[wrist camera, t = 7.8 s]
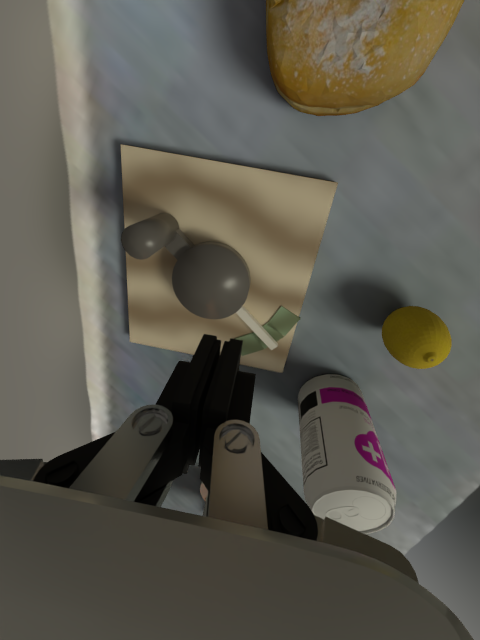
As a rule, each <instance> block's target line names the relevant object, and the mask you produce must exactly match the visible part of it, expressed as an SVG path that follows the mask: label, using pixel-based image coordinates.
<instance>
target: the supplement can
mask: <svg viewBox="0 0 480 640" xmlns="http://www.w3.org/2000/svg"><path fill="white" fill-rule="evenodd" d="M298 409H299V425H300V440H301V455H302V470H303V485H304V495H305V500H306V502H307V504H308V505H309V507H310V509H311V510H312V512H313V514H314V515H315V516H318V517H320V518H322V519H324V518H325V516H326V517H328V518H330V519H333V520H335V521H337V522H339V523H341V524H344V525H346V526H348V527H350V528H352V529H355V530H357V531H359V532H361V533H364V534H369V533H373V532H376V531H380V530H382V529H383V528H385V527H387V526H389V525H390V523H391V522H392V521H393V519H394V514H395V510H394V508H395V503H396V489H395V486H394V483H393V481H392V478H391V475H390V472H389V469H388V466H387V463H386V460H385V458H384V455H383V452H382V449H381V446H380V443H379V440H378V437H377V435H376V432H375V429H374V426H373V423H372V420H371V417H370V414H369V412H368V409H367V406H366V403H365V400H364V397H363V394H362V392H361V390H360V388H359V386H358V385H357V384H356V383H355V382H353V381H352V380H351V379H350V378H347V377H344V376H341V375H333V374H326V375H321V376H317V377H314V378H312V379H311V380H309V381H307V382H306V383H305V384H304V385H303V386H302V387H301V389H300V391H299V394H298Z"/></svg>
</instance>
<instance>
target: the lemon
mask: <svg viewBox="0 0 480 640" xmlns="http://www.w3.org/2000/svg"><path fill="white" fill-rule="evenodd" d="M382 338H383V342H384V345H385V347H386V348H387V350H388V351H389V352H390V354H391V355H392V356H393V357H394V358H395V359H397V360H398V361H399V362H401V363H402V364H404V365H406V366H409V367H412V368H417V369H425V368H430V367H433V366H436V365H438V364H439V363H441V362H442V361H443V360H444V359H445V358H446V357H447V356H448V354H449V352H450V349H451V336H450V333H449V331H448V328H447V326H446V325H445V323H444V322H443V321H442V320H441V319H440V318H439V317H438V316H437V315H436V314H434V313H433V312H431V311H429V310H428V309H425V308H421V307H417V306H408V307H402V308H399V309H397V310H395V311H394V312H392V313H391V314H390V315H389V316H388V317H387V318H386V320H385V321H384V324H383V327H382Z"/></svg>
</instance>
